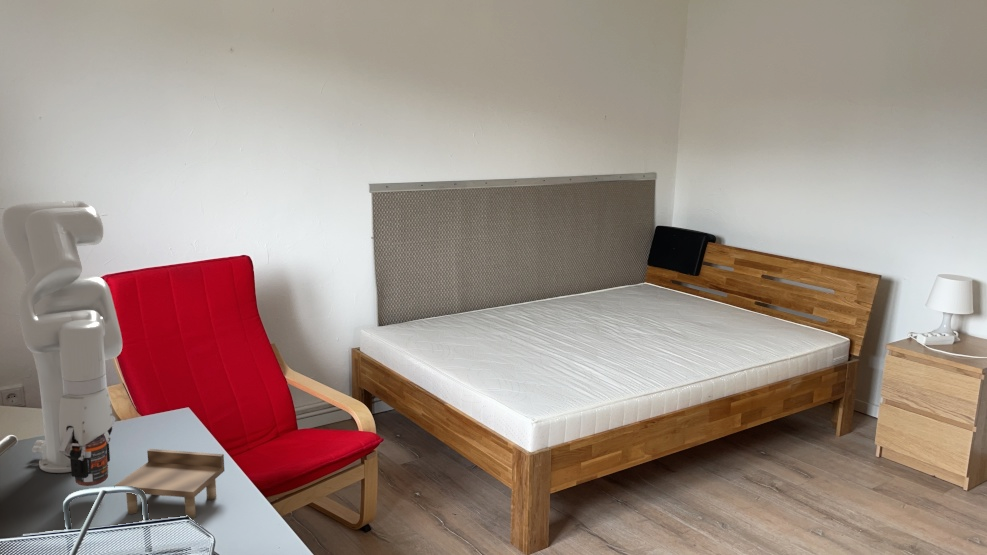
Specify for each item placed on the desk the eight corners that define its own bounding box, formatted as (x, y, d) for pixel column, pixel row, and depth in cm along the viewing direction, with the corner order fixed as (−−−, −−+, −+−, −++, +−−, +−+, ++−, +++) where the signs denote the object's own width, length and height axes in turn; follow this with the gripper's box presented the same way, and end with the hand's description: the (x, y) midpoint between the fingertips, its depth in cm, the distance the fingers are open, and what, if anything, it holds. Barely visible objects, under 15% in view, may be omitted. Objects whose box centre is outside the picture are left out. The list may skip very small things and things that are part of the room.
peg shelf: (116, 515, 147) (113, 473, 146) (153, 488, 159) (150, 448, 158) (195, 522, 145) (192, 480, 144) (225, 494, 157) (223, 454, 155)
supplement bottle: (95, 489, 151) (91, 435, 148) (68, 485, 152) (63, 432, 149) (115, 475, 156) (111, 423, 154) (89, 471, 157) (85, 419, 155)
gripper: (95, 367, 158) (101, 448, 162) (35, 398, 142) (43, 487, 146) (129, 370, 157) (134, 452, 161) (72, 402, 141) (79, 492, 145)
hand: (91, 468), depth 153 cm, fingers closed on supplement bottle, 6 cm apart
